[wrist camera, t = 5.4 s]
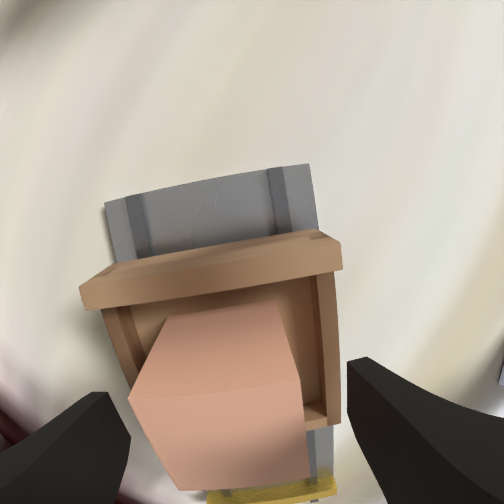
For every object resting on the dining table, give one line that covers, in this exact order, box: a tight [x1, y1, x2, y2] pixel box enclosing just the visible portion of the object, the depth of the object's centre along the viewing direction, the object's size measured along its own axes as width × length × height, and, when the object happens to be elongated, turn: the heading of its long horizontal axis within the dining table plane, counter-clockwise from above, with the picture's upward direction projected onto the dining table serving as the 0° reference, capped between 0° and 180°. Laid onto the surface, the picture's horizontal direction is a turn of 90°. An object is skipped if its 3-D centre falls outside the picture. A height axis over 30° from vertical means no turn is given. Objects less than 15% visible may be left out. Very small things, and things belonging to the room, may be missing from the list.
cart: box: [79, 228, 343, 431], centre depth 11 cm, size 8×8×4 cm
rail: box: [104, 164, 337, 504], centre depth 14 cm, size 9×23×2 cm, turn 10°
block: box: [127, 299, 310, 490], centre depth 9 cm, size 4×4×5 cm
